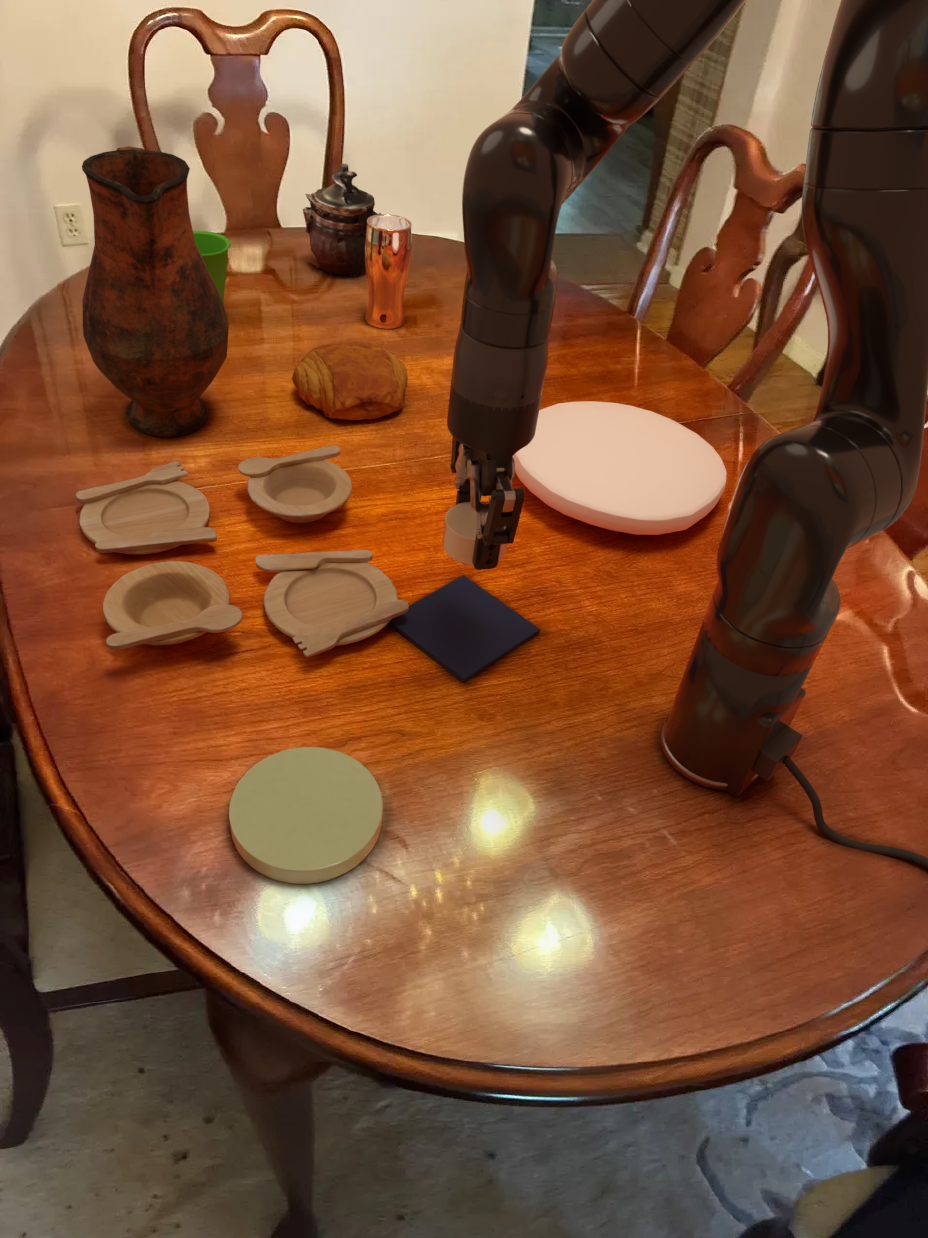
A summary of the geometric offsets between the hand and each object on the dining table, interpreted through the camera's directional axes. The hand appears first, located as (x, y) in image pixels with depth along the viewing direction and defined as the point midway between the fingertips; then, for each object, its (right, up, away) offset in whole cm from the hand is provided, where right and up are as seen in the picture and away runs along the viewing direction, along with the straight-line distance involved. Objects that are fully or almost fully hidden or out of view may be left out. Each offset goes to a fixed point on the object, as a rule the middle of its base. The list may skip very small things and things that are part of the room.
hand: (474, 543), depth 86 cm
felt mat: (-1, -8, +7) cm, 11 cm away
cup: (-40, +39, +53) cm, 77 cm away
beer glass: (-13, +39, +58) cm, 72 cm away
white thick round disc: (+18, +10, +30) cm, 36 cm away
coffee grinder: (-21, +52, +71) cm, 90 cm away
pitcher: (-39, +20, +33) cm, 55 cm away
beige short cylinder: (0, 0, 0) cm, 0 cm away
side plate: (-14, -23, -12) cm, 29 cm away
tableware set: (-25, -1, +11) cm, 27 cm away
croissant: (-16, +23, +39) cm, 48 cm away
